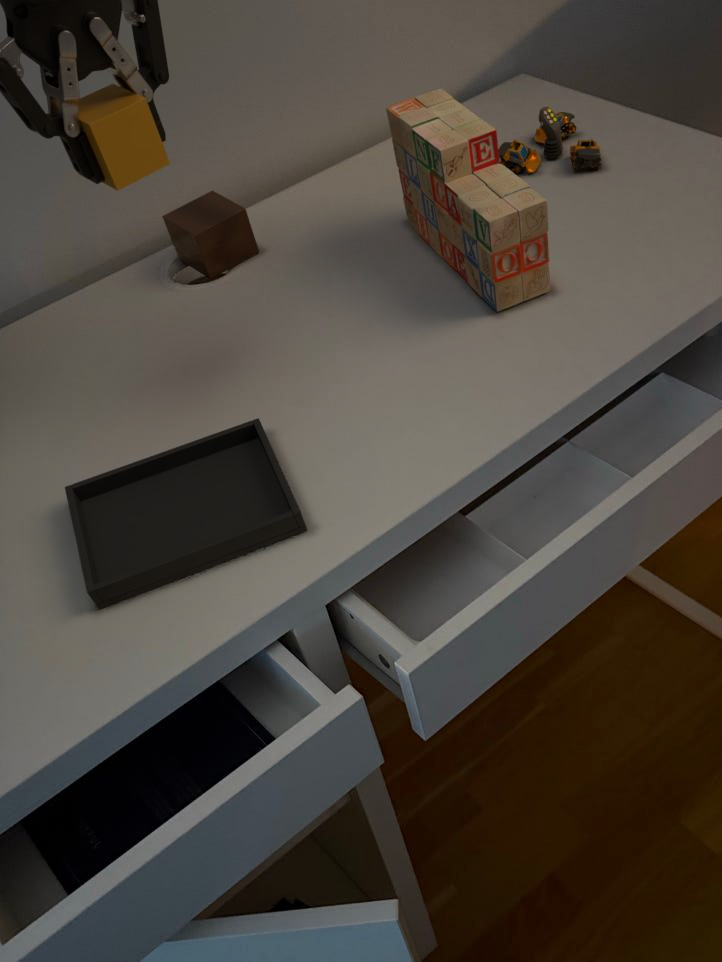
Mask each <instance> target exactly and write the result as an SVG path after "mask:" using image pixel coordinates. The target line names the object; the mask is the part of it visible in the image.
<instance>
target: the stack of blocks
mask: <svg viewBox="0 0 722 962" xmlns="http://www.w3.org/2000/svg"><path fill="white" fill-rule="evenodd" d="M385 111H386V117H387V121H388V124H389V130H390V135H391V142H392V146H393V152H394V157H395V163H396V167H397V168H398V174H399V181H400V185H401V190H402V195H403V196H402V200H403V204H404V209H405V213H406V214H405V215H406V218H407V222H408V224H409V225H410V226H411V227H412V228H413V230H415V232H417V234H418V235H419V236H420V238H422V240H423V241H424V242H426V243H427V244H428V246H430V248H432V249H433V251H434V252H435V253H436V254H437V255H438V256H439V257H440V258H442V259H444V260H445V261H446V263H448V264H449V265H450V266H451V267H452V269H454V270H455V271H456V272H457V273H459V275H460V276H461V277H462V278H463V279H464V280H465V281H466V282H467V283H468V285H469V286H470V287H471V288H472V289H473V290H474V291H475V292H476V293H477V294H478V295H479V296H480V297H481V298H483V301H485V302H486V303H487V304H488V305H489V306H490V307H491V308H492V309H493V310H494V311H495V312H497V313H498V312H500V311H503V310H505V309H508V308H511V307H513V306H516V305H518V304H520V303H523V302H526V301H529V300H531V299H533V298H536V297H539V296H541V295H544V294H546V293H548V292H550V291H551V273H550V263H549V262H550V249H549V235H548V232H549V212H548V200H547V198H546V197H544V196H543V195H541V194H540V193H539V192H538V191H537V190H535V189H534V188H532V187H531V185H530V184H528V183H527V182H526V181H525V180H523V179H522V178H521V177H519V176H518V175H517V174H515V172H512V170H511V171H510V170H509V169H508V168H506V167H505V166H506V165H505V166H504V165H502V164H499V162H500V158H499V152H498V149H499V143H498V142H499V141H498V135H497V134H498V133H497V129H496V128H494V126H492V125H490V124H489V123H487V122H486V121H485V120H483V119H482V118H480V117H479V116H478V115H476V114H475V113H473V112H472V111H471V110H469V109H468V108H467V107H466V106H464V105H463V103H460V102H459V101H458V100H456V99H455V98H454V97H453V96H452V95H451V94H449V93H448V92H446V91H445V90H444V89H443V88H438V89H434V90H432V91H429V92H426V93H425V92H424V93H421V94H420V95H416V96H414V97H413V98H412V97H411V98H409V99H406V100H402V101H400V102H397V103H394V104H391V105H389V106H387V107H386V108H385Z"/></svg>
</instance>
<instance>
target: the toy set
mask: <svg viewBox="0 0 722 962" xmlns="http://www.w3.org/2000/svg"><path fill="white" fill-rule="evenodd" d="M573 119H576V115H575V114H573V113H571V112H567V111H560V112H557V113H555V111H553V110H552V108H551V107H549V106H544V107H542V108H541V109H539V114H538V122H539V124H540V126H539V127H538V128H536V130H535V137H534V142H536V143H541V144H543V145H544V146H543V156H544V157H545V158H549V159H552V158H553V159H554V158H558V157H560V156H561V155H562V154H563V150H564V146H563V138H566V137H569V135H570V136H572V135H573V134H576V131H577V125H575V123H574V122H573V121H572V120H573ZM498 152H499V164H502V165H504V166H505V167H506V168H508V169H509V170H510V171H512V172H513V173H516V174H518V173H519V172H521V171H522V170H523V168H524V167H525V169H526V172H527V173H528V174H531V173H535V172H536V170H537V169H538V167H539V165H540V164H541V162H542V158H541V157H540V156H539V154H538V151H537V149H536V148H534V149H532V148H531V147H528V146H527V145H526V143H525V142H523V141H520V140H517V139H513V140H512V141H503V142H502V143H501V144H500V146H499V147H498ZM569 155H570V156H569V159H570V161H571V164H572V168H573V170H574V171H577V170H579V171H582V170H583V168H591V170H592V171H594V170H600V169H601V168H602V163H601V162H602V153H601V146H600V145H598V142H597V141H596V140H595V139H594V138H590V139H581V138H578V139H577V143H576V144H570V146H569Z"/></svg>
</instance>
